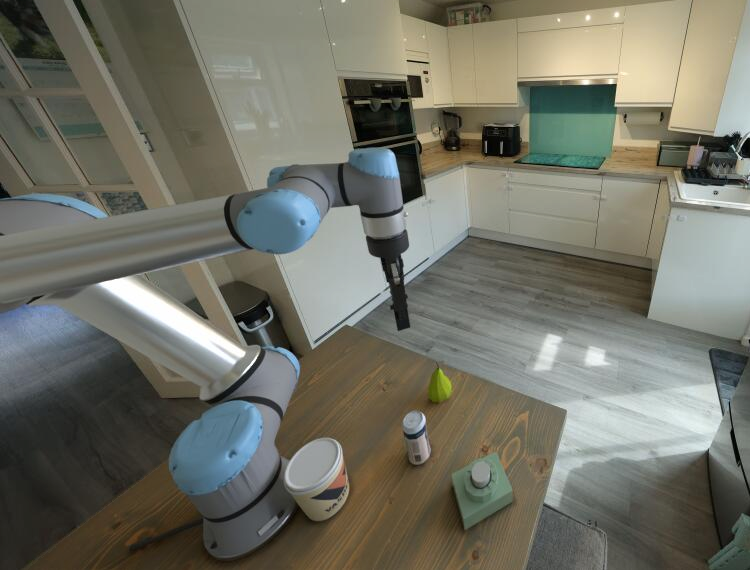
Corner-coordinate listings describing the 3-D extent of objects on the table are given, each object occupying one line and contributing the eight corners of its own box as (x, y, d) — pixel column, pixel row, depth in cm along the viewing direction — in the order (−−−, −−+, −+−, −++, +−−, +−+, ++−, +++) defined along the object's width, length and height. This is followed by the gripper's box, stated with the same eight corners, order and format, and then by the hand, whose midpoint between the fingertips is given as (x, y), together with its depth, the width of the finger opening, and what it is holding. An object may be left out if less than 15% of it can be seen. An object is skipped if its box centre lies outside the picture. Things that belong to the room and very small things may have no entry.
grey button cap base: (464, 530, 58) (462, 513, 55) (452, 485, 64) (450, 468, 62) (512, 501, 62) (512, 484, 59) (496, 462, 68) (496, 445, 66)
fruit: (438, 412, 79) (433, 379, 74) (423, 398, 82) (418, 365, 77) (457, 395, 83) (454, 363, 78) (443, 382, 87) (439, 350, 82)
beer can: (435, 450, 70) (429, 416, 65) (419, 470, 67) (412, 435, 62) (420, 439, 73) (414, 404, 68) (404, 457, 69) (396, 422, 64)
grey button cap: (475, 492, 59) (475, 486, 58) (469, 472, 61) (468, 466, 61) (493, 482, 60) (492, 476, 59) (486, 464, 63) (485, 458, 62)
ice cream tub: (332, 533, 57) (315, 497, 52) (289, 520, 59) (268, 484, 54) (363, 476, 66) (351, 441, 61) (325, 466, 67) (310, 431, 62)
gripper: (412, 241, 56) (427, 341, 65) (401, 216, 66) (415, 305, 76) (367, 250, 53) (389, 353, 62) (363, 222, 63) (382, 314, 73)
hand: (403, 327), depth 69 cm, fingers closed
